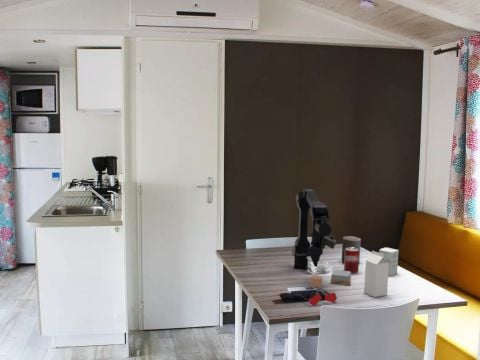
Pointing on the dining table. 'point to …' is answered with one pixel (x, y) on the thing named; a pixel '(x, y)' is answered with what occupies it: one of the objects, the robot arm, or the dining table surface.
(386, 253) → the supplement box
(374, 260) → the milk carton
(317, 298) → the glasses
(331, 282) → the tower base
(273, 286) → the dining table surface
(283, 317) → the dining table surface
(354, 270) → the soda can
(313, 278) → the block
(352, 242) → the pillar candle
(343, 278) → the tower top
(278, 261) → the dining table surface
